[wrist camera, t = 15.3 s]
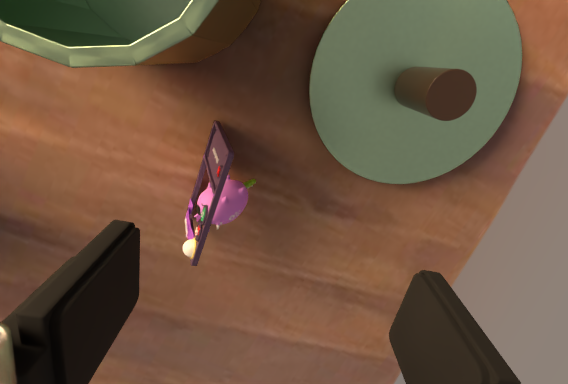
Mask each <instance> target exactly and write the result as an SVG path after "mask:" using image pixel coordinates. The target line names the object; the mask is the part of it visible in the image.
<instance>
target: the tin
mask: <svg viewBox="0 0 568 384" xmlns="http://www.w3.org/2000/svg"><path fill="white" fill-rule="evenodd" d="M260 2H261V0H0V41H2V42H3V43H6V44H9V45H11V46H14V47H17V48H19V49H22V50H25V51H28V52H30V53H33V54H36V55H38V56H41V57H44V58H46V59H49V60H52V61H55V62H57V63H60V64H63V65H65V66H68V67H72V68H77V67H107V66H136V65H157V64H179V63H196V62H199V61H201V60H203V59H205V58H207V57H209V56H212V55H214V54H216V53H218V52H219V51H221V50H223V49H224V48H226V47H228V46H230V45H231V44H232V43H233V42H234V41H235V40H236V39H237V37H238V36H239V35H240V34H241V33H242V32H243V31H244V30H245V28H246V27H247V26H248V24H249V23H250V21H251V20H252V18H253V17H254V15H255V14H256V13H257V11H258V8H259V5H260Z"/></svg>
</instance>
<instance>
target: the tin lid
mask: <svg viewBox="0 0 568 384" xmlns="http://www.w3.org/2000/svg"><path fill="white" fill-rule="evenodd" d="M521 66H522V44H521V36H520V32H519V27H518V24H517V21H516V18H515V15H514V13H513V11H512V9H511V7H510V5H509V4H508V2H507V0H347V1H346V2H345V3H344V4H343V5H342V6H341V7H340V9H339V10H338V11H337V13H336V14H335V15H334V17H333V18H332V19H331V21H330V22H329V24H328V26H327V27H326V29H325V31H324V32H323V35H322V37H321V39H320V41H319V43H318V46H317V48H316V51H315V55H314V58H313V61H312V66H311V71H310V78H309V102H310V109H311V114H312V118H313V121H314V124H315V127H316V130H317V132H318V134H319V136H320V138H321V140H322V142H323V143H324V145H325V146H326V148H327V149H328V151H329V152H330V153H331V154H332V155H333V156H334V158H335V159H336V160H337V161H338V162H340V163H341V164H342V165H343V166H344V167H346V168H347V169H349V170H350V171H352V172H354V173H355V174H357V175H359V176H362V177H364V178H366V179H369V180H373V181H376V182H381V183H388V184H408V183H416V182H421V181H426V180H429V179H432V178H435V177H438V176H440V175H442V174H445V173H447V172H449V171H451V170H453V169H454V168H456V167H458V166H459V165H461V164H463V163H464V162H465V161H467V160H468V159H469V158H471V157H472V156H473V155H474V154H475V153H476V152H478V151H479V150H480V149H481V148H482V147H483V146H484V145H485V144H486V143H487V142H488V140H489V139H490V138H491V137H492V136H493V135H494V133H495V132H496V130H497V129H498V128H499V126H500V125H501V123H502V122H503V120H504V118H505V116H506V115H507V113H508V111H509V109H510V106H511V104H512V102H513V100H514V97H515V94H516V91H517V87H518V84H519V79H520V74H521Z"/></svg>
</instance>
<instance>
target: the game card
mask: <svg viewBox="0 0 568 384" xmlns="http://www.w3.org/2000/svg"><path fill="white" fill-rule="evenodd" d="M233 158H234V151H233V149H232V147H231V145H230V143H229V141H228V138H227V136H226V134H225V132H224V130H223V128H222V126H221V124H220V122H219V121H214V123H213V127H212V130H211V133H210V137H209V140H208V143H207V147H206V150H205V153H204V157H203V160H202V164H201V167H200V170H199V174H198V177H197V180H196V184H195V187H194V190H193V194H192V197H191V198H190V203H189V205H188V210H187V214H186V217H185V229H186V237H187V236H188V240H187V241H186V242H185V243H184V245H183V252H184V254H185V255H186V256H188V257H190V261H191V266H197V264H198V261H199V258H200V255H201V252H202V249H203V246H204V243H205V240H206V237H207V234H208V232H209V229H210V226H211V224H216V225H217V230H218V228H219V226H220V225H222V224H226V223H229V222H231V221H233V220H234V219H235V218H237V217H238V216H239V215H240V214H241V212H242V211H243V210H244V208H245V206H246V204H247V201H248V191H247V188H250V186H251V187H253V186H252V185H253V184H256V180H255V179H252V180H249V181H247V182H244V183H242V182H240V181H237V180H230V175H228V172H229V169H230V166H231V164H232V161H233ZM206 168H207V172H208V176H209V180H210V182H209V184H208V187H207V189H206V190H205V191H204V192H202V193H201V195H200V196H199V198H198V202H197V205H196V212H197V214H196V215H195V216H194V218H195V217H197V219H196V221H197V222H198V225H197V227H196V231H195V232H196V233H195V234H196V238H195V236H194V228H193V221H192V212H193V209H194V205H195V202H196V199H197V196H198V192H199V189H200V186H201V183H202V179H203V176H204V173H205V169H206ZM200 218H201V222H200V221H199V219H200ZM202 224H203V225H204V226H203V229H202ZM196 241H198V244H197V242H196Z"/></svg>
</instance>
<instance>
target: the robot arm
mask: <svg viewBox="0 0 568 384" xmlns="http://www.w3.org/2000/svg"><path fill="white" fill-rule="evenodd" d="M139 267H140V230H139V228H135V225H134V223H132V222H126V221H120V220H113V221H112V222H111V223H110V224H109V225H108V226H107V227H106V228H105V229H104V230H102V231H101V232H100V233H99V234H98V235H97V236H96V237H95V238H94V239H93V240H92V241H91V242H90V243H89V244H88V245H87V246H86V247H85V248H84V249H83V250H81V251H80V252H79V253H78V254H77V255H76V256H74V257H72V258H70V259H69V260H68V261H66V262H65V263H64V264H63V265H62V266H61V267H60V268H59V269H58V270H57V271H56V272H55V273H54V274H53V275H51V276H50V277H49V278H48V279H47V280H46V281H45V282H44V283H43V284H42V285H41V286H40V287H39V288H38V289H37V290H35V291H34V292H33V293H32V294H31V295H30V296H29V297H28V298H27V299H26V300H25V301H24V302H23V303H22V304H21V305H19V306H18V307H17V308H16V309H15V310H14V311H13V312H12V313H11V314H10V315H9V316H8V317H7V318H6V319H5V320H3V321H2V322H0V384H88V383H89V382H90V380H91V378H92V377H93V375H94V373H95V372H96V370H97V368H98V367H99V365H100V363H101V362H102V360H103V358H104V357H105V355H106V353H107V352H108V350H109V348H110V347H111V345H112V343H113V342H114V340H115V338H116V337H117V335H118V333H119V332H120V330H121V328H122V326H123V325H124V323H125V321H126V320H127V318H128V316H129V315H130V313H131V311H132V310H133V308H134V306H135V305H136V303H137V300H138V297H139ZM389 339H390V342H391V345H392V348H393V350H394V353H395V356H396V358H397V361H398V364H399V366H400V369H401V372H402V374H403V377H404V379H405V382H406V384H521V382H520V381H519V380H518V378H517V377H516V375H515V374H514V373H513V371H512V370H511V369H510V367H509V366H508V365H507V363H506V362H505V360H504V359H503V358H502V356H501V355H500V354H499V352H498V351H497V350H496V348H495V347H494V345H493V344H492V343H491V341H490V340H489V339H488V337H487V336H486V335H485V333H484V332H483V330H482V329H481V328H480V326H479V325H478V324H477V322H476V321H475V320H474V318H473V317H472V316H471V314H470V313H469V311H468V310H467V309H466V307H465V306H464V305H463V303H462V302H461V300H460V299H459V298H458V296H457V295H456V294H455V292H454V291H453V290H452V288H451V287H450V285H449V284H448V283H447V281H446V280H445V279H444V277H443V276H442V275H441V274H440V273H438V272H432V271H425V270H422V271H420V272H419V274H418V273H417V274H415V275H414V276H413V279H412V281H411V283H410V285H409V288H408V290H407V292H406V294H405V297H404V299H403V301H402V304H401V306H400V308H399V310H398V313H397V315H396V317H395V319H394V322H393V324H392V326H391V329H390V332H389Z"/></svg>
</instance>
